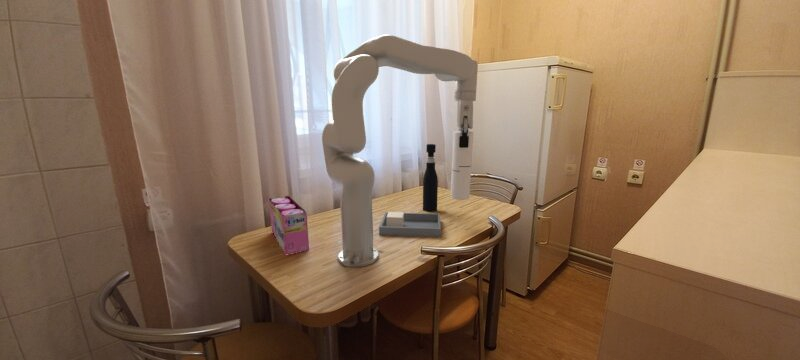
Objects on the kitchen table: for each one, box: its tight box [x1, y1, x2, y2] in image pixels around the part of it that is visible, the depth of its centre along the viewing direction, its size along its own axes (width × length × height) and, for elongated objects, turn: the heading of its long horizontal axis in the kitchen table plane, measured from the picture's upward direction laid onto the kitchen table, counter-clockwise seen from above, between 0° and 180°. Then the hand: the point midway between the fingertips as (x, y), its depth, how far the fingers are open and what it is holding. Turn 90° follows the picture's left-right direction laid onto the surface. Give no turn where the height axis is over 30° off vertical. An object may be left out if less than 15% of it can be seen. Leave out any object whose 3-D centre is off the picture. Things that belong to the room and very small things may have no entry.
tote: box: [378, 211, 442, 238], centre depth 122 cm, size 16×22×4 cm
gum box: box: [268, 195, 310, 255], centre depth 112 cm, size 24×8×14 cm, turn 32°
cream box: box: [386, 211, 405, 227], centre depth 122 cm, size 6×6×5 cm
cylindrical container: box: [450, 130, 474, 201], centre depth 120 cm, size 7×7×25 cm
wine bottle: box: [422, 143, 439, 213], centre depth 139 cm, size 6×6×30 cm
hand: (462, 145), depth 119 cm, fingers closed on cylindrical container, 7 cm apart
